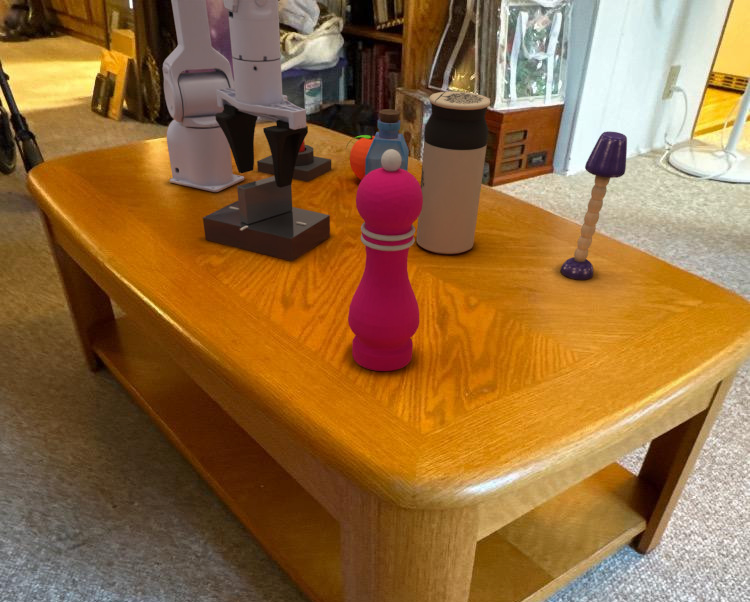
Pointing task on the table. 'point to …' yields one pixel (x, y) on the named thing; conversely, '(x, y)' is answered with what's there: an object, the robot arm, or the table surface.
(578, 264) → the toy lamp
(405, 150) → the perfume bottle
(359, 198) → the pepper mill
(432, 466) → the table surface
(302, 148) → the button
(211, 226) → the base
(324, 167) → the control block
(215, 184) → the robot arm
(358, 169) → the clementine
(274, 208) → the upright grey panel
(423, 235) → the travel mug
